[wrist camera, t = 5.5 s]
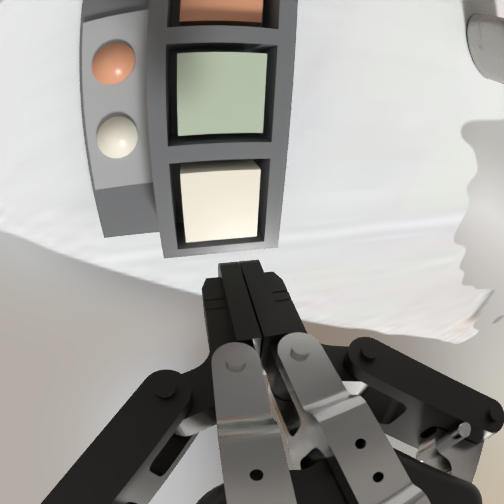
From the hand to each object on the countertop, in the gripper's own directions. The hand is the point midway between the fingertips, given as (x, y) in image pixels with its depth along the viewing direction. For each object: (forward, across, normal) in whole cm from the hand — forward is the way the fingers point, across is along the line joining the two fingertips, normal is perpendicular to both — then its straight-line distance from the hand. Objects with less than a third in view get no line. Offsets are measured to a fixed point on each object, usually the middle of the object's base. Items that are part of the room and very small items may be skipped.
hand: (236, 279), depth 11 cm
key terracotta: (+10, 0, -13) cm, 17 cm away
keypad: (+13, +2, -6) cm, 15 cm away
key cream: (+9, 0, 0) cm, 9 cm away
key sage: (+9, 0, -6) cm, 11 cm away
